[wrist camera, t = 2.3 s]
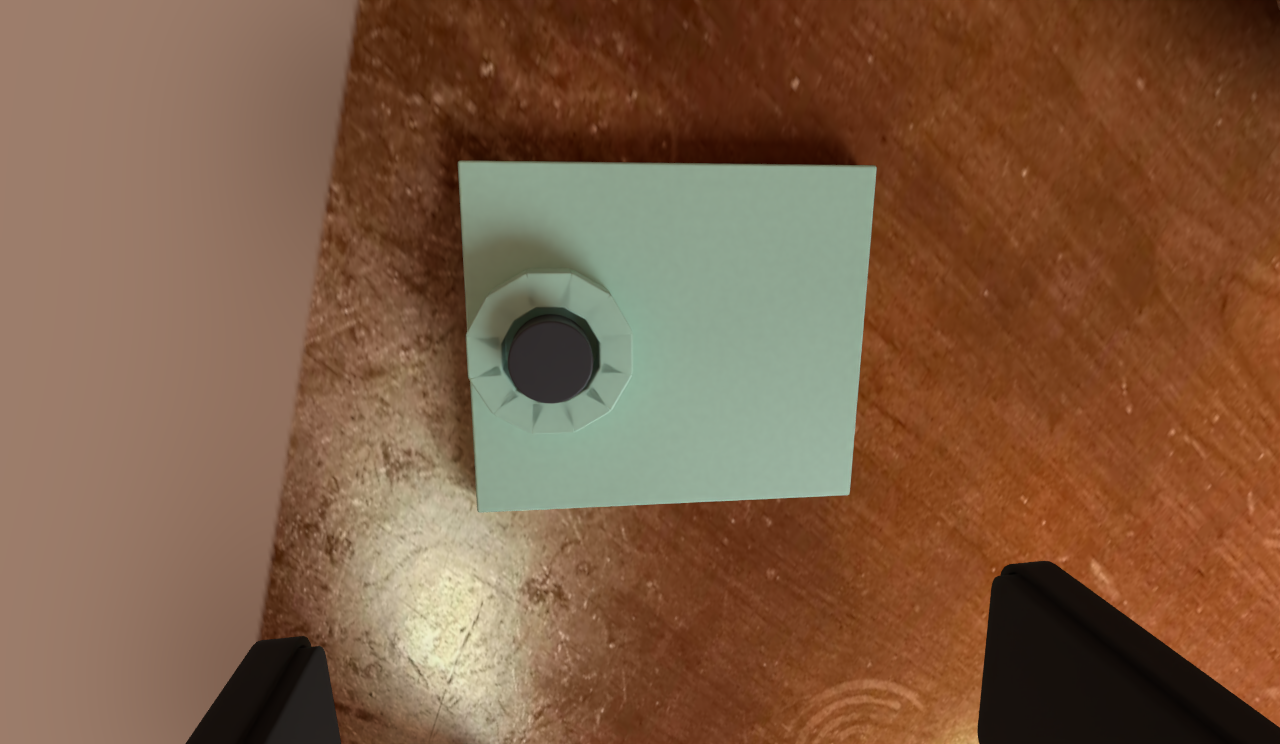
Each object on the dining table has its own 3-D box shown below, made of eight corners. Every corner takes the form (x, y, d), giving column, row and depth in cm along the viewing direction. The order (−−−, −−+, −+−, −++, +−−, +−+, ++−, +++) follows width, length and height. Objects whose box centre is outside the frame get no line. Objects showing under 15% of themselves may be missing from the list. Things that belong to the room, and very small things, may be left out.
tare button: (511, 393, 24) (509, 405, 23) (508, 314, 23) (505, 321, 22) (591, 391, 24) (594, 403, 23) (590, 313, 24) (593, 320, 22)
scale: (480, 498, 28) (472, 532, 25) (462, 162, 25) (450, 156, 22) (836, 482, 29) (867, 512, 27) (861, 167, 26) (899, 162, 23)
